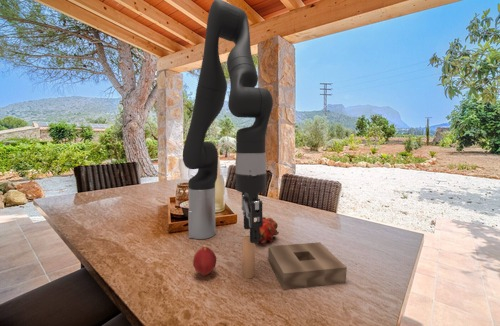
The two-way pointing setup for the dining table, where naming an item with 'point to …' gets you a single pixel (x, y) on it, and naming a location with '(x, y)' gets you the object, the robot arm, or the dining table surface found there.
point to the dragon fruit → (268, 230)
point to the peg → (248, 258)
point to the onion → (204, 261)
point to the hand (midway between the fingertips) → (251, 235)
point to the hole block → (305, 265)
